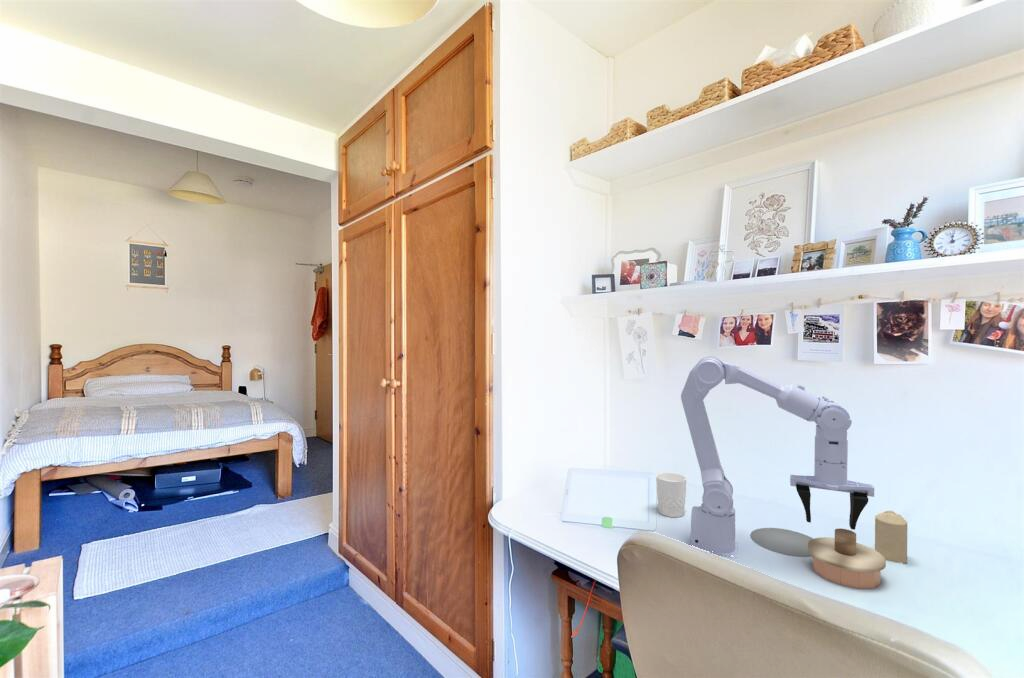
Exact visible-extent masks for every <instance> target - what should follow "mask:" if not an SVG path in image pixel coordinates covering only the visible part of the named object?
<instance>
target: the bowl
mask: <svg viewBox="0 0 1024 678" xmlns="http://www.w3.org/2000/svg"><path fill="white" fill-rule="evenodd" d="M812 568H813V571H814V572H816V573H817V574H818V575H820V577H822V578H823V579H825V580H828V581H830V582H833V583H835V584H837V585H841V586H845V587H850V588H855V589H875V588H876V587H878V586H879V585H881V570H880V571H876V572H860V571H853V570H848V569H844V568H840V567H836V566H833V565H831V564H828V563H826V562H823V561H821V560H819V559H818V558H816V557H815V556H813V557H812Z"/></svg>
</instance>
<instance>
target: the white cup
mask: <svg viewBox="0 0 1024 678" xmlns="http://www.w3.org/2000/svg"><path fill="white" fill-rule="evenodd" d="M655 477H656V480H655V481H656V495H657V496H656V499H657V511H658V512H659V513H660V515H662V516H664V517H670V518H680V517H683V516H684V515H685V508H686V507H685V506H686V497H687V496H686V494H687V476H685V475H684V474H682V473H681V474H680V473H676V472H670V471H669V472H668V471H667V472H659V473H657V474H656V475H655Z"/></svg>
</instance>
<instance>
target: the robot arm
mask: <svg viewBox="0 0 1024 678" xmlns="http://www.w3.org/2000/svg"><path fill="white" fill-rule="evenodd" d="M723 380H724V384H725V385H734V384H740V385H742V386H745V387H747V388H749V389H752V390H753V391H757V392H759V393H761V394H763V395H765V396H768V397H770V398H773V399H775V401H776V404H777V407H778V408H780V409H781V410H784V411H786V412H788V413H789V414H793V416H797V417H798V418H800V419H803V420H805V421H807V422H815V424H816V425H815V436H814V469H813V470H814V471H813V473H814V475H796V474H790V475H789V484H790V487H795V489H796V492H797V494H798V497H799V499H800V501H801V503H802V505H803V508H804V511H805V520H806V523H809V524H810V523H812V514H811V497H812V495H811V489H819V490H826V491H833V492H841V493H849V507H850V509H849V518H848V519H849V520H848V521H849V522H848V523H849V524H848V525H849V528H850V530H852V531H853V530H856V526H857V522H858V519H859V518H860V515H861V513H862V511H863V510H864V509H865V507H866V506H867V505H868V503H869V497H871V498H872V497H873V498H874V497H875V487H874V485H873V484H870V483H869V484H868V483H865V482H864V483H863V482H857V481H852V480H848V452H849V451H848V450H849V449H848V447H849V446H848V445H849V442H848V430H849V429H850V428H851V426H852V424H853V423H852V422H853V421H852V419H851V416H850V414H849V412H848V411H847V410H846V409H845V408H844V407H842V406H841V405H840V404H838V403H836V402H835V401H833V400H830V399H829V397H827V396H824V395H823V396H819V395H817V394H815V393H813V392H811V391H808V390H805V388H806V387H805V386H803V385H802V384H799V383H798V384H797V385H795V384H793V383H791V384H787V385H780V384H778V383H776V382H774V381H772V380H770V379H768V378H765V377H763V376H762V375H760V374H758V373H756V372H754V371H751V370H749V369H748V368H745V367H743V366H742V365H739V364H736V363H734V362H731V361H728V360H721V359H719V358H718V357H716V356H712V355H710V356H704V357H703V358H701V359H700V360H699V361H698V362H697V363H696V364H695V365H694V367H692V368H691V370H689V373H688V376H687V378H686V381H685V384H684V387H683V389H682V390H681V394H680V400H681V403H682V407H683V410H684V415H685V419H686V422H687V426H688V430H689V434H690V436H691V440H692V444H693V448H694V451H695V456H696V459H697V463H698V466H699V470H700V474H701V475H700V477H701V482H702V488H703V493H702V503H701V505H700V506H699V505H698V506H696V505H693V506H692V508H691V514H690V516H691V517H690V546H691V545H693V546H695V547H698V548H700V549H703V550H706V551H709V552H712V551H713V552H712V553H714V554H713V555H718V556H723V557H727V556H728V558H731V557H730V556H731V555H733V556H734V557H736V555H737V554H738V545H739V543H738V542H737V541H736V509H735V507H733V506H734V498H733V495H734V487H733V485H732V483H731V482H730V481H729V480H728V478H727V477H726V474H725V471H724V469H723V467H722V463H721V460H720V456H719V453H718V449H717V445H716V442H715V438H714V435H713V431H712V430H713V429H712V427H711V424H710V421H709V420H710V419H709V416H708V412H707V410H706V406H705V402H704V399H706V397H707V395H708V394H709V393H710V391H711V390H712V389H714V388H716V387H717V386H719V385H720V384H721V383H722V382H723ZM712 553H711V554H712ZM724 555H725V556H724ZM736 558H737V557H736Z"/></svg>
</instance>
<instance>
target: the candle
mask: <svg viewBox="0 0 1024 678" xmlns="http://www.w3.org/2000/svg"><path fill="white" fill-rule="evenodd" d="M874 517H875V518H874V550H876V551H877V552H879V553H880V554H881V555H883V557H884V558H885V560H886V561H888V562H893V563H900V564H904V565H905V564H906V563H907V562H908V521H907V520H906V519H905V517H903V516H902V515H901V514H897V512H894V511H893V510H885V511H883V512H880V513H878V514H876V515H875V516H874Z"/></svg>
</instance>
